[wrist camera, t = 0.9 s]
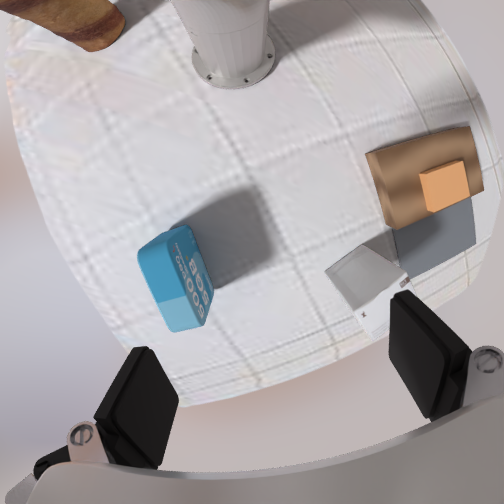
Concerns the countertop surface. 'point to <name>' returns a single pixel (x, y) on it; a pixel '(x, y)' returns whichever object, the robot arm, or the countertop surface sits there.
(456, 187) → the tan foam pad
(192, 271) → the data package
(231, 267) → the countertop surface
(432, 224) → the mat
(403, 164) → the brown wooden block
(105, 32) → the brown wooden post
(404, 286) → the skincare box
